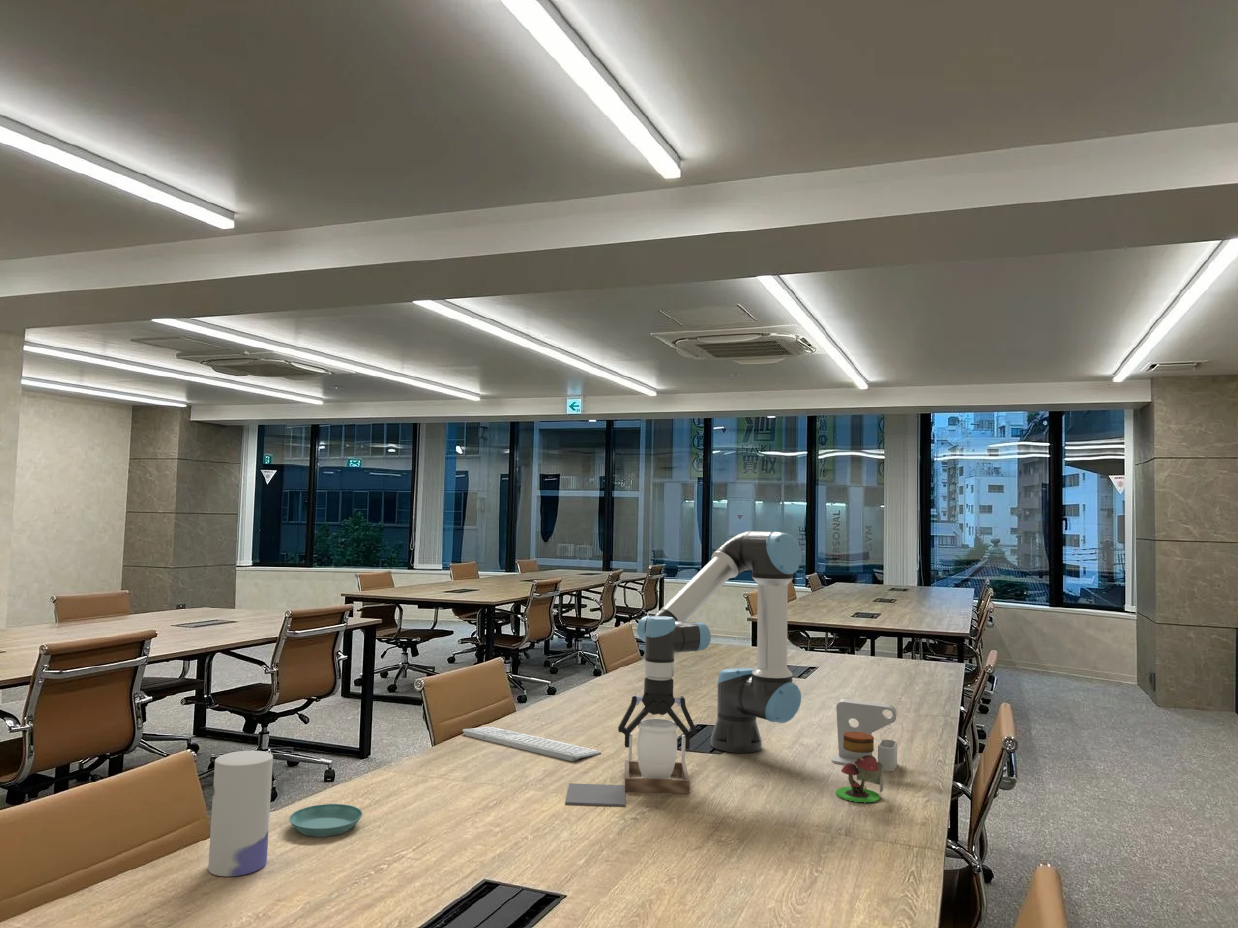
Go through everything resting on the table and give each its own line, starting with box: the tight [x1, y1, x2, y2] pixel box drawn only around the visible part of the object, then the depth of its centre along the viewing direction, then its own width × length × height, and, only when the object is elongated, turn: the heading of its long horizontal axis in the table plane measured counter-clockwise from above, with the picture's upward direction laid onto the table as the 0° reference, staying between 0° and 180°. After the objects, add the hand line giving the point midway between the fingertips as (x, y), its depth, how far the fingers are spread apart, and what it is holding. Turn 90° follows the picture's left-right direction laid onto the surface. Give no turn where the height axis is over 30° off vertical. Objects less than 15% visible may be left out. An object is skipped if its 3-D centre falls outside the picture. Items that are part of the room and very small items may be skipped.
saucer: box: [288, 803, 363, 838], centre depth 178 cm, size 15×15×3 cm
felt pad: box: [564, 783, 626, 807], centre depth 203 cm, size 14×14×1 cm
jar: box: [636, 718, 679, 779], centre depth 215 cm, size 11×10×15 cm
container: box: [207, 750, 274, 877], centre depth 157 cm, size 10×10×20 cm
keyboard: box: [462, 726, 602, 762], centre depth 248 cm, size 44×12×2 cm, turn 55°
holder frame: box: [624, 759, 691, 794], centre depth 215 cm, size 16×16×3 cm
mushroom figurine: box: [835, 732, 885, 804], centre depth 209 cm, size 12×13×15 cm
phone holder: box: [831, 698, 898, 772], centre depth 239 cm, size 17×10×18 cm, turn 65°
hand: (656, 761), depth 215 cm, fingers open, 13 cm apart
